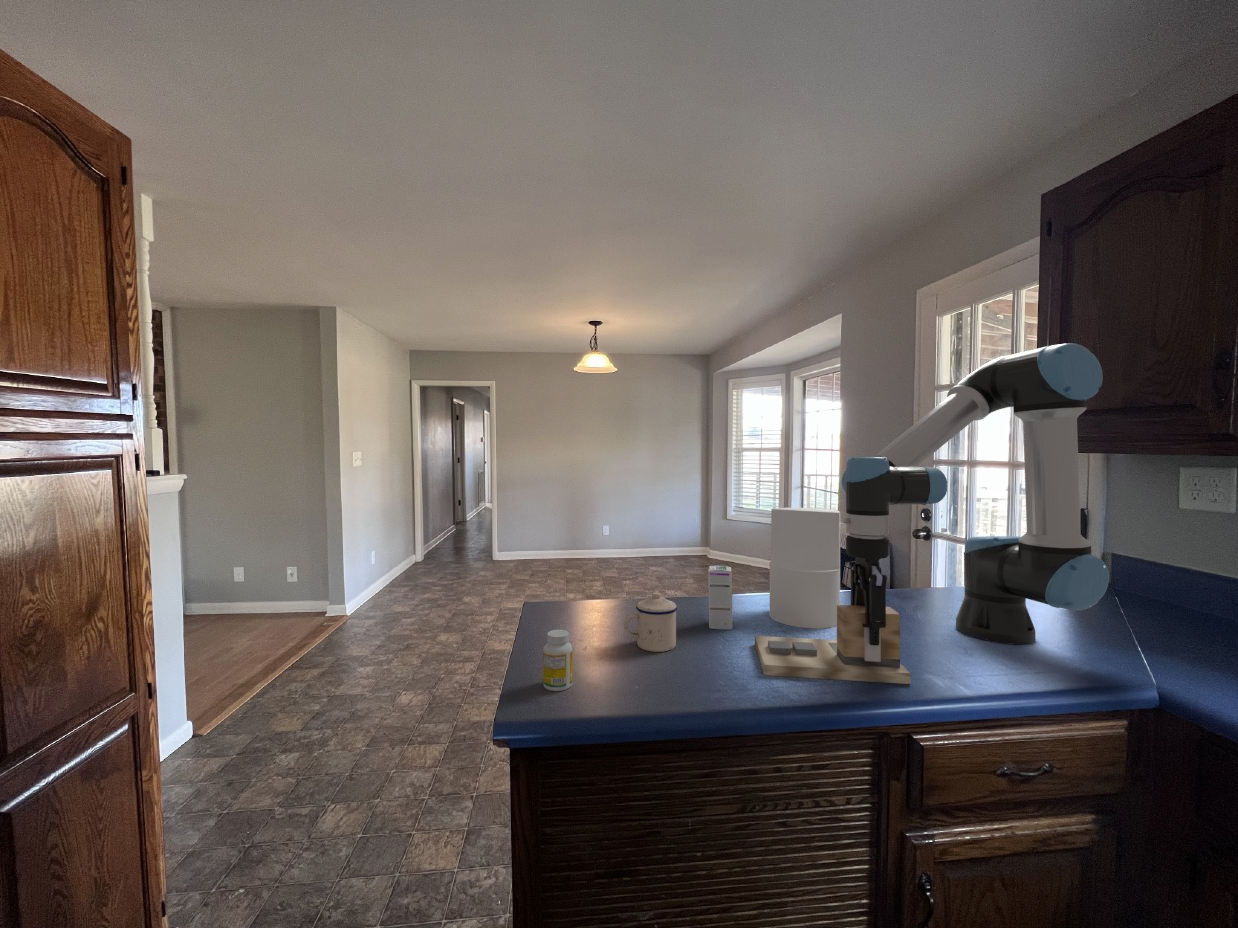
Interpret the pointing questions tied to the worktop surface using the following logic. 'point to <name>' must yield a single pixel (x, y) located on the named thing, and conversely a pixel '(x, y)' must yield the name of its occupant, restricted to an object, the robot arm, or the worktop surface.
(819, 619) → the cylinder
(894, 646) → the sanding block
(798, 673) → the maple board
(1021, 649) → the worktop surface
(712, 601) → the syrup box
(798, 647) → the chip
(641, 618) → the teacup with lid
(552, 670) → the supplement bottle
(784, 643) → the chip
